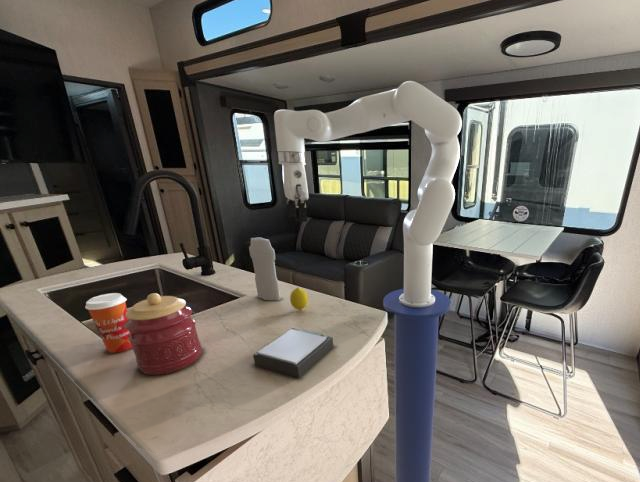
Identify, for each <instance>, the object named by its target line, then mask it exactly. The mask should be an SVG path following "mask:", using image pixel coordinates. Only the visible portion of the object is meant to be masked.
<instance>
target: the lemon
mask: <svg viewBox="0 0 640 482" xmlns="http://www.w3.org/2000/svg"><path fill="white" fill-rule="evenodd" d="M289 301H290V305H291V306H292V307H293V309H296V310H299V311H302V310H303V309H305V308H306V307H307V306H308V304H309V296H308V292H307V291H306V290H305V289H304V288H300V287H296V288H294V289H293V290H292V291H291V293H290V297H289Z"/></svg>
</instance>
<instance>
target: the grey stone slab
mask: <svg viewBox="0 0 640 482" xmlns="http://www.w3.org/2000/svg"><path fill="white" fill-rule="evenodd" d="M248 249H249V256H250V258H251V260H252V266H253V270H254V281H255V288H256V295H257V298H259V299H262V300H264V301H281V293H280V286H279V280H278V277H277V272H276V271H277V270H276V265H275V264H276V262H275V261H276V253H275V249H274V248H273V247H272V245H271V242H270V239H266V238H263V237H251V238H250V246H249V247H248Z"/></svg>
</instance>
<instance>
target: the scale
mask: <svg viewBox="0 0 640 482" xmlns="http://www.w3.org/2000/svg"><path fill="white" fill-rule="evenodd" d="M333 348H334V338H333V336H330V335H324V334H323V333H318V332H315V331H309V330H305V329H298V328H294V327H292V328H291V329H289V330H287V331H286V332H284V333H282V334H281V335H280V336H278V337H277V338H276V339H274V340H272V341H271V342H269V343H268V344H267V345H266V346H264V347H262V348H261V349H259V350H258V351H256V352H255V353H254V354H252V356H253V361H254V366H257V367H261V368H264V369H267V370H270V371H273V372H277V373H281V374H283V375H287V376H291V377H294V378H298V379H300V378H301V377H302V376H303V375H304V374H306V373H307V372H308V371H309V370H310V369H311V368H312V367H313V366H315V364H317V363H318V362H319V361H320V360H321V359H322V358H323V357H325V355H326V354H328V353H329V352H330V351H331V350H332V349H333Z"/></svg>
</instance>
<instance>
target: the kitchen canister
mask: <svg viewBox="0 0 640 482" xmlns="http://www.w3.org/2000/svg"><path fill="white" fill-rule="evenodd" d="M186 304H187V302H186V300H185V299H183V298H179V297H176V296H173V295H160V294H158V293H157V292H153V293H150V294H148V295H147V297H146V299H144V300H140V301H138V302H137V303H135V304H134V305H132V306H131V307H130V308H129V309H127V312H126V314H125V316H126V317H127V318H128V319H127V320H126V321H125V323H124V328H125V329H126V330H128V331H129V333H130V335H129V337H128V340H129V342H131V345H132V351H133V353H134V356H135V357H134V358H135V363H136V366H137V367H138V369H139V370H140V372H142V373H143V374H145V375H149V376H150V375H151V376H157V375H166V374H170V373H174V372H177V371H180V370H182V369H184V368H186V367H189V366H190V365H191V364H193V363H195V362H196V361H197V360H198V359H199V358H200V357H201V355H202V344H201V341H200V339H199V335H198V331H197V327H196V321H195V320H194V318H192V313H193V308H191V307H190V306H188V305H186Z"/></svg>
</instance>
